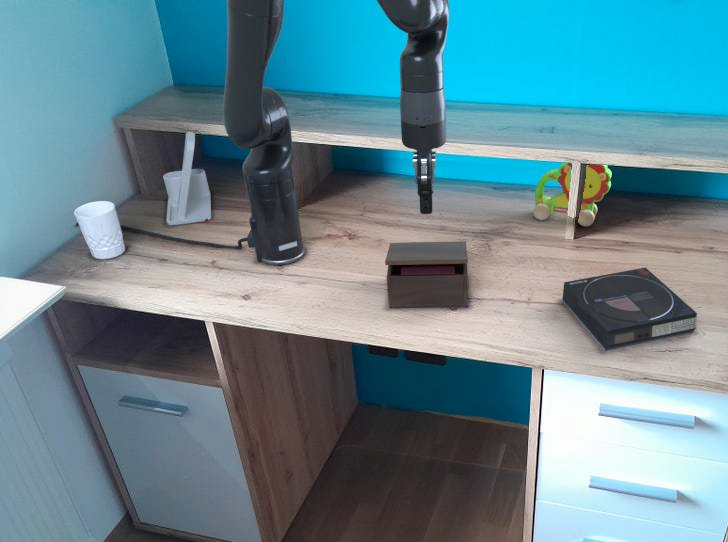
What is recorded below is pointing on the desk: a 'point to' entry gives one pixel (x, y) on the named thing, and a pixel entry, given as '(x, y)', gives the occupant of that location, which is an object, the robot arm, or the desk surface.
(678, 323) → the portable cd player
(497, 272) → the desk surface
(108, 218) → the white cup
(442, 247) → the box lid
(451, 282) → the walnut box
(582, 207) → the toy lion
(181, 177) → the white dustpan scoop
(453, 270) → the stepped pink block
